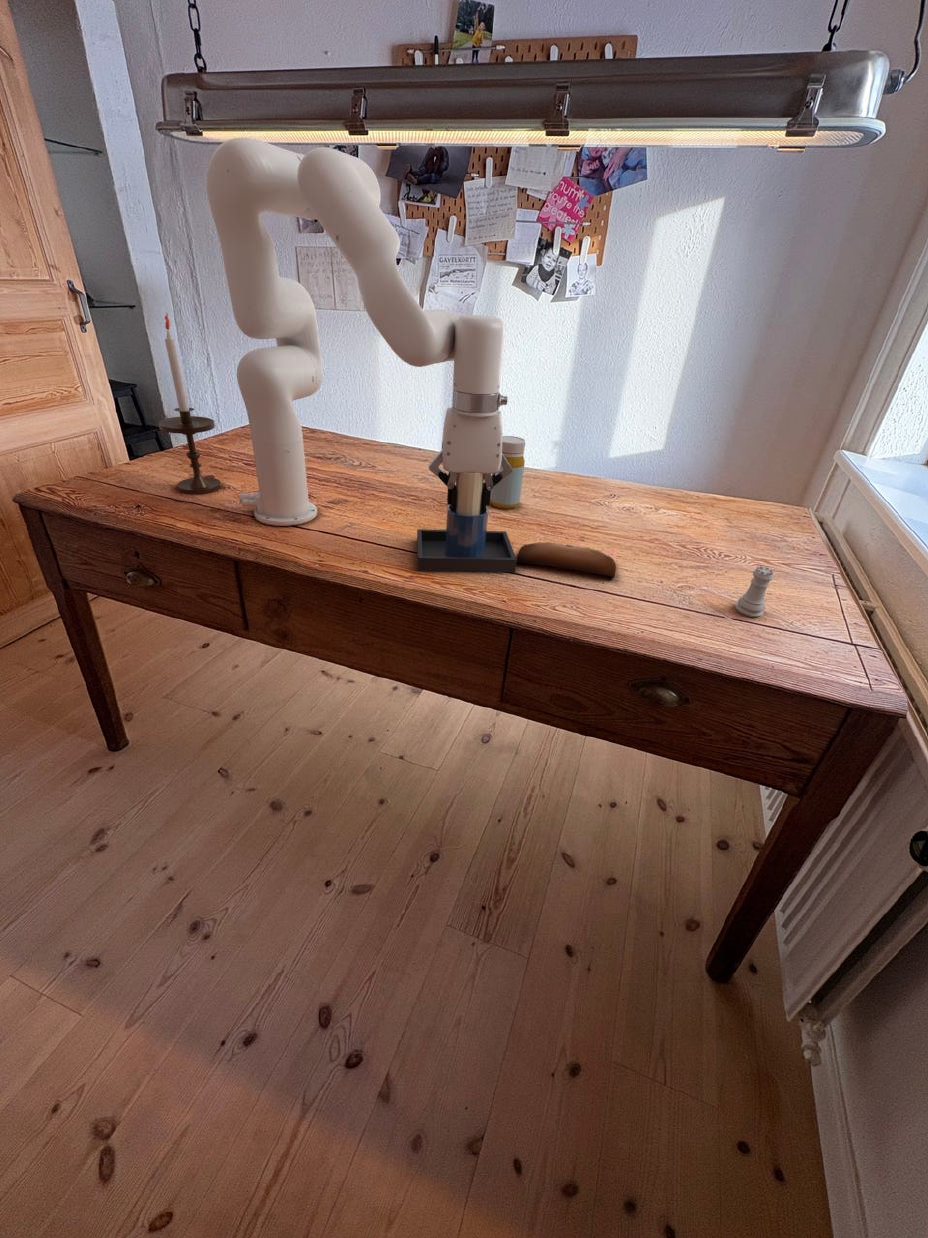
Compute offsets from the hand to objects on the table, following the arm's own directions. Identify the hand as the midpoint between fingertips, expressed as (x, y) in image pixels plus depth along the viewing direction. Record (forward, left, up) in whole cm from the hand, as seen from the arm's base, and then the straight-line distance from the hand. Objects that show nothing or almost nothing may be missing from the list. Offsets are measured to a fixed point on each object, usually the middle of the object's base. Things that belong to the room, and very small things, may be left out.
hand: (467, 507), depth 98 cm
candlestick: (-58, +33, -10) cm, 68 cm away
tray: (0, 0, -10) cm, 10 cm away
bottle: (+12, +28, -10) cm, 32 cm away
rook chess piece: (+47, -19, -10) cm, 52 cm away
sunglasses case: (+19, -3, -10) cm, 22 cm away
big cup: (0, 0, -9) cm, 9 cm away
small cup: (0, 0, -3) cm, 3 cm away
